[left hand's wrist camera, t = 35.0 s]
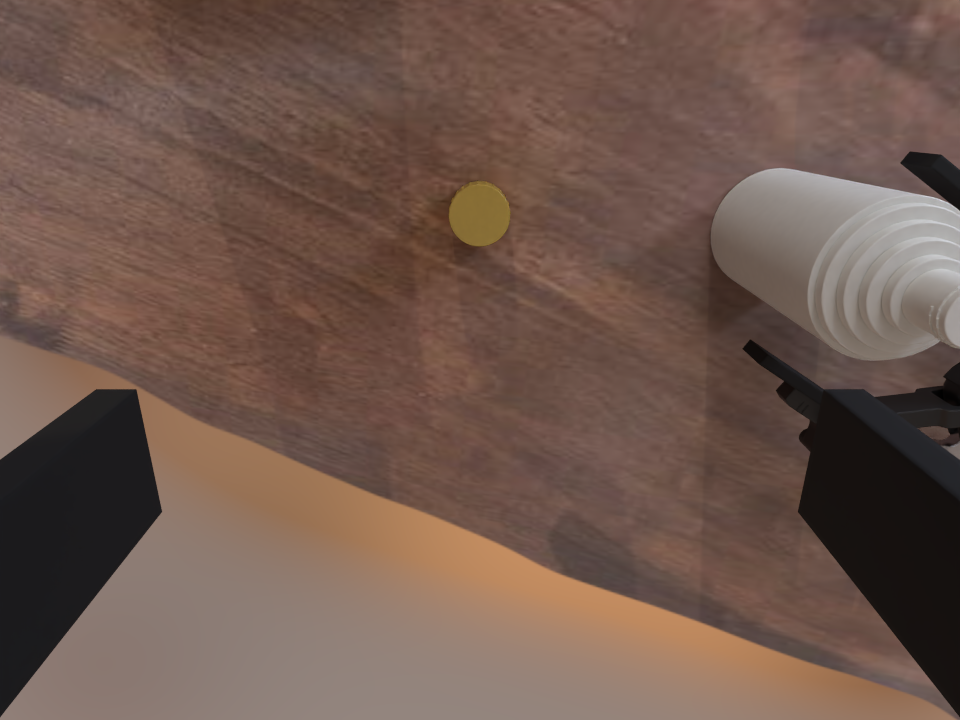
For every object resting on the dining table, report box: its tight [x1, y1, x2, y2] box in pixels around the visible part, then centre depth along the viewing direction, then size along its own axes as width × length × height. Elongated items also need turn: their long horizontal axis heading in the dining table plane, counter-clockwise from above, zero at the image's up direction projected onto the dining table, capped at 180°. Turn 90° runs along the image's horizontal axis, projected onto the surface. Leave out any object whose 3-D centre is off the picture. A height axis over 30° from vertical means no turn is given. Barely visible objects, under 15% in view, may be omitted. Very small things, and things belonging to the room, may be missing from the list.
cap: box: [448, 180, 511, 246], centre depth 42 cm, size 4×4×2 cm
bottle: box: [711, 168, 960, 361], centre depth 34 cm, size 8×8×20 cm
